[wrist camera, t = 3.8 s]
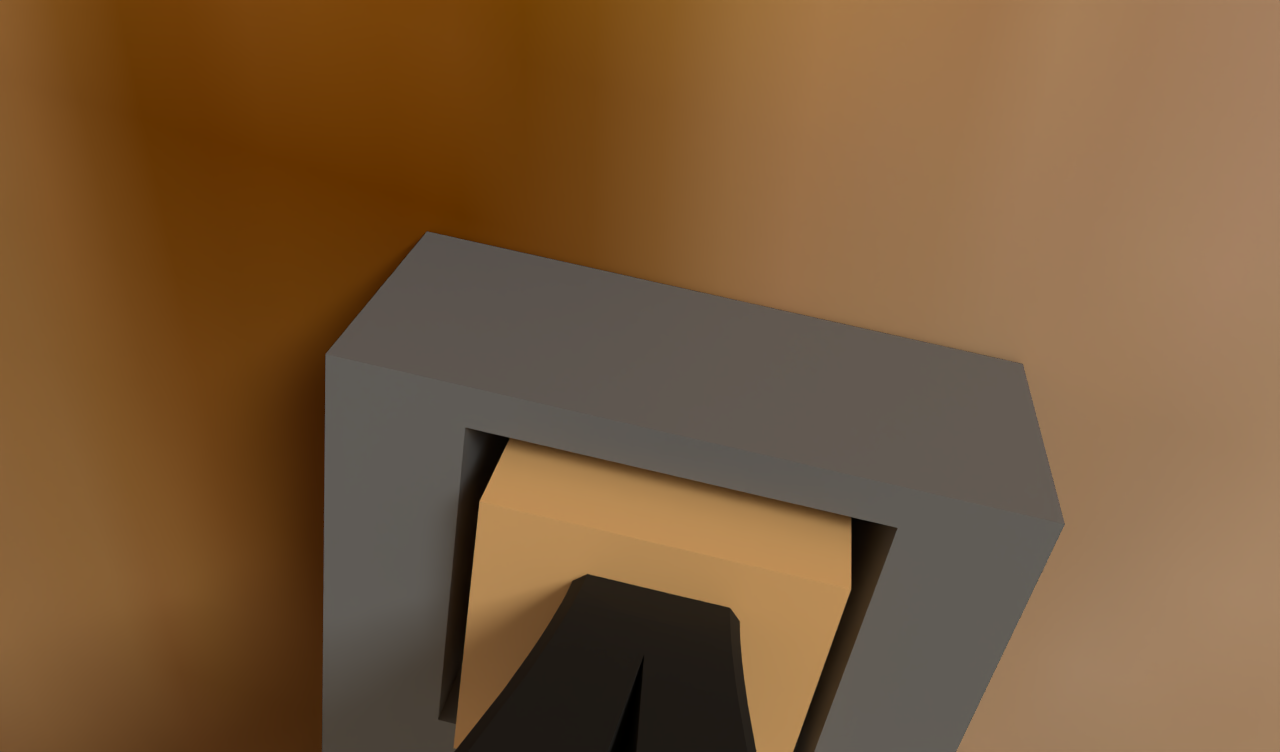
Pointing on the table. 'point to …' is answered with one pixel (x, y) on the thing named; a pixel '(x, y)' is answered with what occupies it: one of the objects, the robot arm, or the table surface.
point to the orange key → (653, 571)
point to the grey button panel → (679, 446)
